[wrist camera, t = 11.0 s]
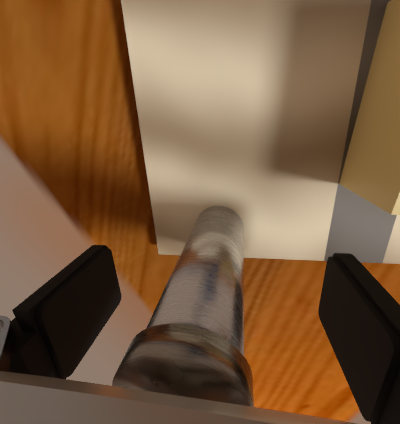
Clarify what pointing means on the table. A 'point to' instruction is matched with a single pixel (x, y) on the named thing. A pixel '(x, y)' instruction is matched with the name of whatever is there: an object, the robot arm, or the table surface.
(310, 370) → the table surface
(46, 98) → the table surface
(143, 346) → the steel pin
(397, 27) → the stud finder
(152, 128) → the white square mat
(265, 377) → the table surface
